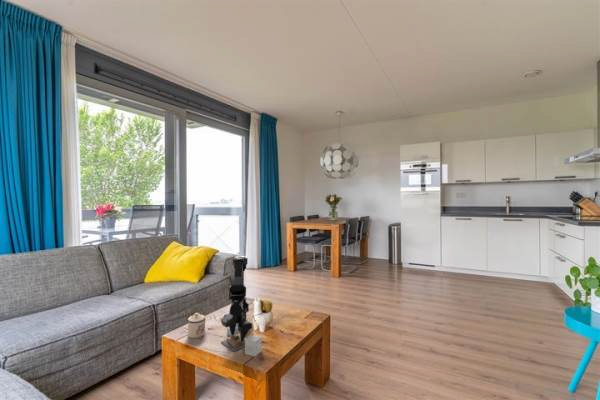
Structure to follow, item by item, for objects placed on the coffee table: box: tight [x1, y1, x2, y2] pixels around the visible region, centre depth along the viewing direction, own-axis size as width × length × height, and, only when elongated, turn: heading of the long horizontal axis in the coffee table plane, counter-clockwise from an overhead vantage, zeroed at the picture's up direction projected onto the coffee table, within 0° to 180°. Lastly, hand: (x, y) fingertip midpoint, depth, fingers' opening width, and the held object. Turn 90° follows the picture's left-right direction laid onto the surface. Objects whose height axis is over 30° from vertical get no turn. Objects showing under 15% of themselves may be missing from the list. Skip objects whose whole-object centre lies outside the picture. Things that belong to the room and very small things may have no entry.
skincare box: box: [244, 333, 263, 357], centre depth 141 cm, size 6×6×7 cm
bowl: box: [226, 323, 240, 337], centre depth 161 cm, size 6×6×4 cm
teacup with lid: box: [187, 312, 206, 339], centre depth 161 cm, size 12×9×12 cm
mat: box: [220, 339, 245, 352], centre depth 150 cm, size 12×12×1 cm
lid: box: [226, 332, 247, 347], centre depth 150 cm, size 8×8×3 cm
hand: (237, 337), depth 150 cm, fingers open, 9 cm apart
